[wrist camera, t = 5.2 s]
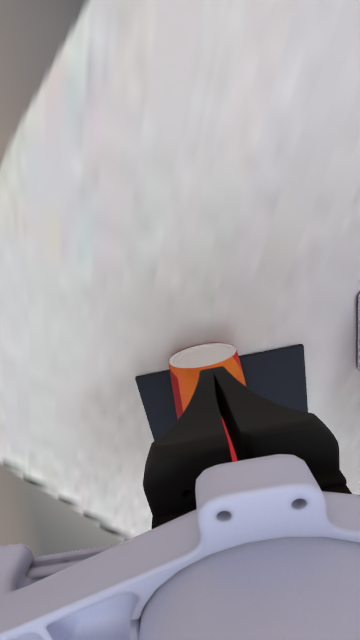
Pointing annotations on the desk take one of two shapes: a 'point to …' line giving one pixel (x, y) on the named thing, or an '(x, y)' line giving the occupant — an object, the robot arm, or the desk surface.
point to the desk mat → (260, 376)
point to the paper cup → (189, 366)
